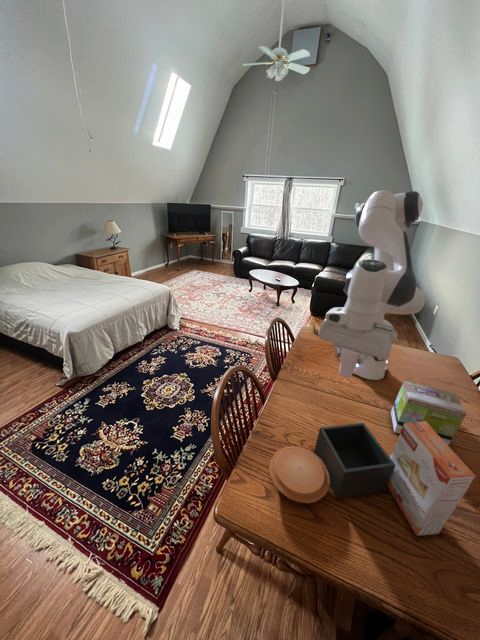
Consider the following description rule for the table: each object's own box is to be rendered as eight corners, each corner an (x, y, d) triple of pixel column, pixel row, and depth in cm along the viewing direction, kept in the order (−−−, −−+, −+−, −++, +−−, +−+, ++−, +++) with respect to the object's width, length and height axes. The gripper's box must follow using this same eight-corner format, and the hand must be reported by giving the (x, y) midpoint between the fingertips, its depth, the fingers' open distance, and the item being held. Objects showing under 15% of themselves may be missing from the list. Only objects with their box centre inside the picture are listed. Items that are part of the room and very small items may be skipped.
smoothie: (355, 370, 86) (366, 331, 80) (356, 382, 80) (368, 341, 74) (334, 366, 88) (343, 327, 82) (334, 377, 82) (343, 336, 76)
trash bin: (314, 451, 79) (319, 427, 75) (355, 446, 82) (363, 422, 77) (336, 498, 67) (344, 472, 63) (384, 490, 70) (395, 465, 65)
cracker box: (380, 477, 73) (403, 420, 64) (400, 476, 73) (426, 420, 64) (414, 537, 60) (449, 477, 51) (439, 535, 61) (478, 475, 52)
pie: (325, 461, 76) (328, 449, 74) (329, 519, 63) (333, 506, 61) (271, 449, 79) (273, 437, 77) (264, 502, 66) (266, 489, 63)
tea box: (393, 433, 87) (407, 398, 80) (390, 412, 95) (402, 379, 89) (448, 449, 82) (467, 413, 76) (439, 426, 90) (456, 391, 84)
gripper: (401, 325, 73) (387, 367, 79) (327, 306, 84) (320, 345, 89) (397, 333, 68) (383, 377, 74) (320, 312, 79) (313, 352, 85)
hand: (348, 359), depth 82 cm, fingers closed on smoothie, 5 cm apart
